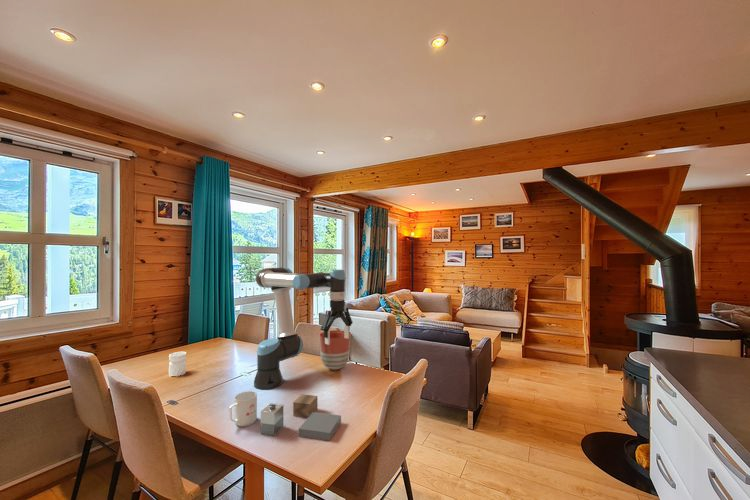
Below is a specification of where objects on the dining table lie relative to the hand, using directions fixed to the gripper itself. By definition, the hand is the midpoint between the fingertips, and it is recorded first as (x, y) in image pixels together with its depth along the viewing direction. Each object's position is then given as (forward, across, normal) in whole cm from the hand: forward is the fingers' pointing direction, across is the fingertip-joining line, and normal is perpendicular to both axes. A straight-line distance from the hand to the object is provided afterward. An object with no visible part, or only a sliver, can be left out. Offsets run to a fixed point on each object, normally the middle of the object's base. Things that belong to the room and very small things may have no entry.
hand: (337, 341), depth 156 cm
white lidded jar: (+28, -42, +94) cm, 107 cm away
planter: (+28, +24, +27) cm, 46 cm away
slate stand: (+27, -26, -18) cm, 41 cm away
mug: (+28, -44, +11) cm, 53 cm away
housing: (+27, -39, -3) cm, 48 cm away
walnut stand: (+27, -21, -2) cm, 35 cm away
